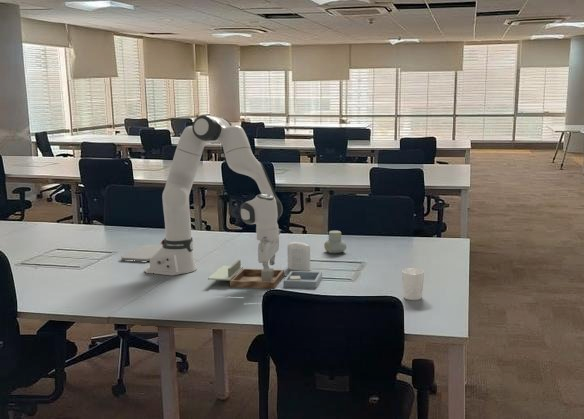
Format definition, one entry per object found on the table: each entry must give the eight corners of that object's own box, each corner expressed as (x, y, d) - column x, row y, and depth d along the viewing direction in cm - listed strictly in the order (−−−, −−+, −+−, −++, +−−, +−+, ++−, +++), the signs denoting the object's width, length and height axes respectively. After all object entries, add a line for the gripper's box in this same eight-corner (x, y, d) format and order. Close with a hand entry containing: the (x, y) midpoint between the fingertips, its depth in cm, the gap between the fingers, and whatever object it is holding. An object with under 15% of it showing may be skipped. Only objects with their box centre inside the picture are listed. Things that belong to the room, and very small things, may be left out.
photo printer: (312, 270, 276) (311, 242, 273) (307, 272, 272) (306, 244, 270) (291, 267, 281) (290, 240, 278) (286, 270, 277) (285, 242, 275)
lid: (207, 279, 254) (207, 269, 253) (222, 266, 272) (222, 257, 271) (229, 280, 252) (229, 270, 251) (243, 267, 270) (242, 258, 269)
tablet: (175, 250, 319) (175, 245, 318) (149, 263, 294) (149, 259, 294) (146, 248, 323) (146, 244, 323) (118, 262, 299) (118, 257, 299)
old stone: (290, 286, 252) (290, 278, 251) (290, 283, 256) (289, 276, 255) (300, 285, 252) (300, 278, 251) (300, 282, 256) (299, 275, 255)
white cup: (420, 293, 240) (421, 268, 238) (425, 300, 232) (426, 273, 231) (400, 294, 240) (400, 268, 238) (404, 301, 232) (404, 274, 230)
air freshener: (348, 253, 302) (348, 233, 300) (332, 255, 299) (332, 234, 297) (338, 248, 312) (337, 228, 310) (322, 250, 309) (322, 230, 307)
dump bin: (283, 288, 251) (283, 280, 251) (291, 277, 265) (290, 270, 264) (316, 289, 249) (316, 281, 248) (322, 279, 262) (322, 271, 262)
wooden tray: (230, 288, 253) (229, 280, 252) (242, 275, 270) (242, 268, 270) (274, 290, 249) (274, 282, 249) (284, 276, 266) (284, 270, 266)
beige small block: (261, 282, 257) (261, 270, 256) (264, 280, 261) (263, 268, 260) (271, 283, 256) (270, 271, 256) (273, 280, 260) (273, 268, 259)
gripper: (268, 240, 245) (270, 275, 248) (280, 229, 265) (282, 261, 267) (253, 240, 247) (255, 275, 249) (266, 229, 266) (267, 261, 269)
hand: (269, 267), depth 258 cm, fingers open, 8 cm apart
